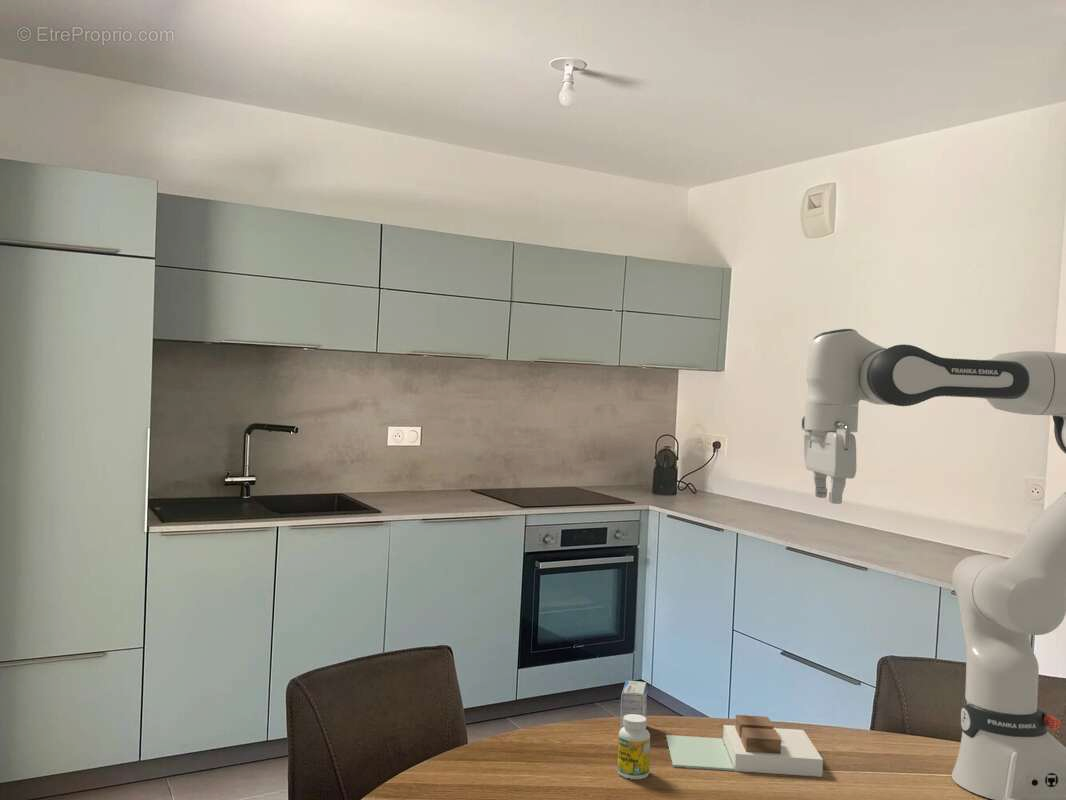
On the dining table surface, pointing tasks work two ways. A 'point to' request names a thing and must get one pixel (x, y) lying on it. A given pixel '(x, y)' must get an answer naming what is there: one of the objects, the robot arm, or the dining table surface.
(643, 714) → the medicine box
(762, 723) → the far tile
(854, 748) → the dining table surface
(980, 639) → the robot arm
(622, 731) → the supplement bottle
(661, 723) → the dining table surface
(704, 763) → the mat
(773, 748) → the near tile
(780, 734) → the white flat block
